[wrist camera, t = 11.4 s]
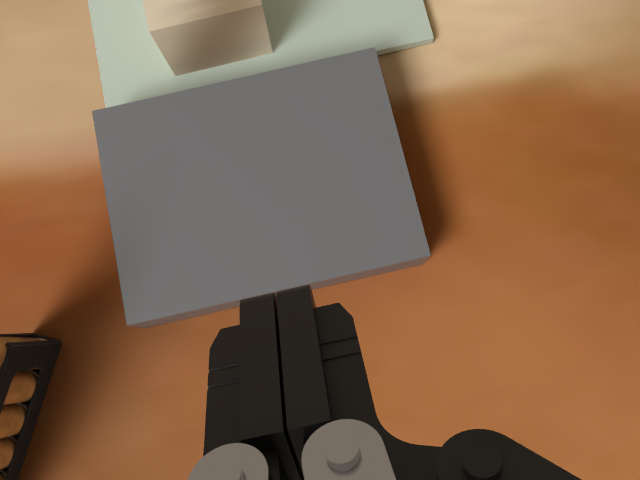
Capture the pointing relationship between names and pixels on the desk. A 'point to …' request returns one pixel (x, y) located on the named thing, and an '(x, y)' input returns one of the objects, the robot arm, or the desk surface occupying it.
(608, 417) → the desk surface
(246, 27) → the birch block
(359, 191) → the plate
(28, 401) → the ammunition clip
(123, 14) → the mat
